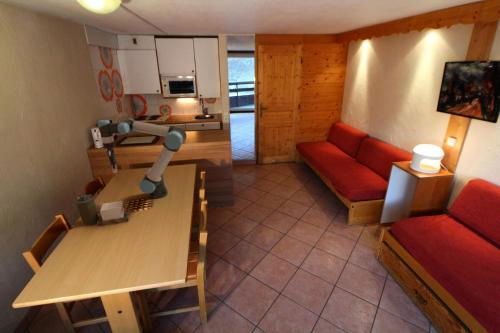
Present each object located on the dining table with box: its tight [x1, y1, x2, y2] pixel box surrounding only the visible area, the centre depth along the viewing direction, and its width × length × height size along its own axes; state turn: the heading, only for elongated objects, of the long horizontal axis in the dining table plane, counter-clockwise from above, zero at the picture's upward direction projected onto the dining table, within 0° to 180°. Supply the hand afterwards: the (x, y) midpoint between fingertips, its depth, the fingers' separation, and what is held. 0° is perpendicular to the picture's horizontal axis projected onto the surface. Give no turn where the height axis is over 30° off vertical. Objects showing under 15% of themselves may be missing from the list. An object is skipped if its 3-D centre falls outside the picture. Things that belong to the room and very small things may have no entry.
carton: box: [99, 200, 126, 221], centre depth 173 cm, size 12×10×11 cm
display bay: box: [96, 207, 131, 227], centre depth 176 cm, size 18×14×3 cm
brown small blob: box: [95, 200, 104, 213], centre depth 186 cm, size 6×6×6 cm
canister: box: [75, 193, 100, 226], centre depth 170 cm, size 11×10×20 cm
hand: (115, 172), depth 187 cm, fingers closed
